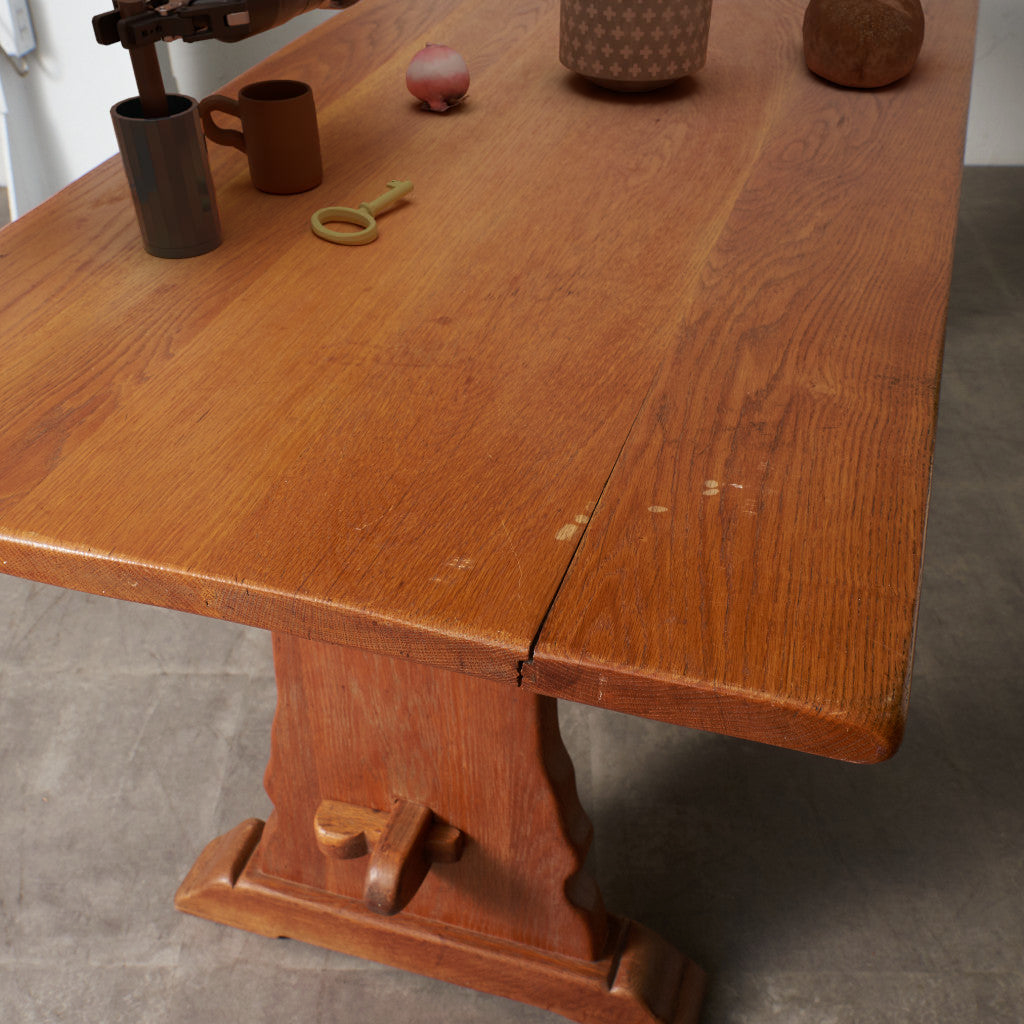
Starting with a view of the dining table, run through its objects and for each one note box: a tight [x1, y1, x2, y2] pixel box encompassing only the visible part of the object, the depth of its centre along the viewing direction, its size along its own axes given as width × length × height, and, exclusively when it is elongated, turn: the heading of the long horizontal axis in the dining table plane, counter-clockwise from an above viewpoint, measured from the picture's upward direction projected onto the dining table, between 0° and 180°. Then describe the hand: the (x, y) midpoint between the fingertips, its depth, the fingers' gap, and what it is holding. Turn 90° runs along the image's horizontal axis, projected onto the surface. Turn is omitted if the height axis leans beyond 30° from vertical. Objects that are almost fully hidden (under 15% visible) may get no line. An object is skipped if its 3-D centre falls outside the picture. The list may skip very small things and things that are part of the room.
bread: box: [801, 0, 926, 89], centre depth 137 cm, size 16×29×11 cm, turn 167°
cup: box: [109, 92, 225, 259], centre depth 92 cm, size 7×7×12 cm
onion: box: [405, 42, 471, 112], centre depth 124 cm, size 8×8×7 cm
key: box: [310, 179, 415, 246], centre depth 99 cm, size 7×12×2 cm, turn 161°
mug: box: [198, 79, 324, 195], centre depth 104 cm, size 12×8×9 cm, turn 97°
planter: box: [558, 0, 714, 93], centre depth 127 cm, size 19×19×18 cm
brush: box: [117, 0, 170, 119], centre depth 88 cm, size 5×5×18 cm
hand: (110, 34), depth 82 cm, fingers closed on brush
